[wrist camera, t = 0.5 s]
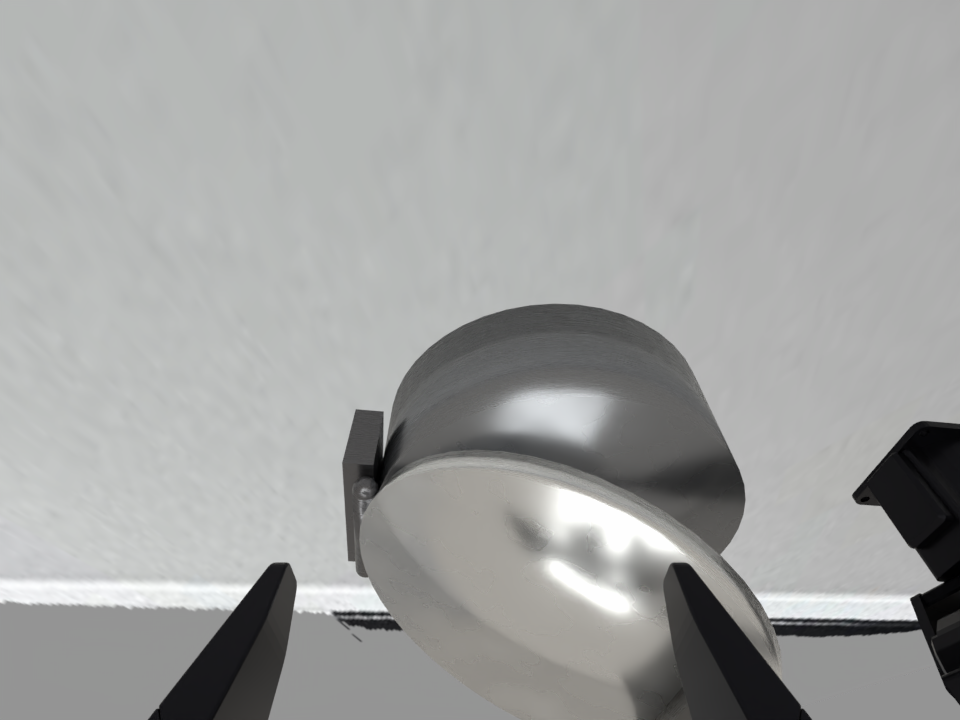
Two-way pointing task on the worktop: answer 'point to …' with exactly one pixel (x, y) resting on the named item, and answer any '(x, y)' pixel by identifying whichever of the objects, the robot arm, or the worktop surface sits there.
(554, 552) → the lid
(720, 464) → the pot
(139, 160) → the worktop surface
